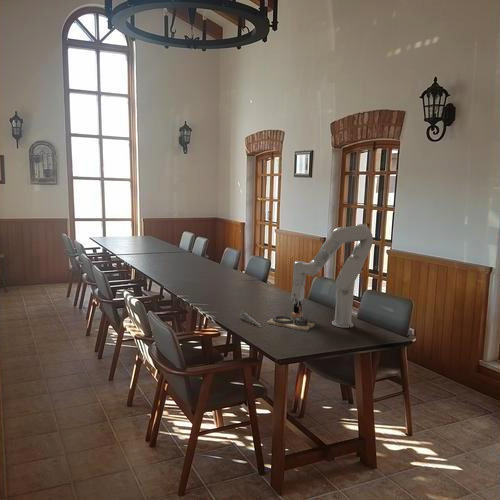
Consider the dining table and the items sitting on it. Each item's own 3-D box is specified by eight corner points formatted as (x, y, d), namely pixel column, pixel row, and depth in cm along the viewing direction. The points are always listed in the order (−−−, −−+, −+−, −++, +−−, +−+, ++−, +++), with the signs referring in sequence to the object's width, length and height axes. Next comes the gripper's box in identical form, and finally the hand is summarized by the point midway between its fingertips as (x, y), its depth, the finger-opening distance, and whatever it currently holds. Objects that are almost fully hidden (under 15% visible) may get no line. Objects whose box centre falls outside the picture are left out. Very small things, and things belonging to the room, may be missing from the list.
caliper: (239, 319, 289) (240, 308, 288) (241, 318, 290) (241, 308, 289) (260, 328, 273) (261, 317, 272) (262, 328, 274) (263, 317, 273)
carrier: (277, 318, 294) (277, 307, 294) (314, 325, 283) (315, 314, 283) (266, 323, 282) (267, 312, 281) (305, 331, 271) (306, 320, 270)
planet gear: (294, 315, 300) (294, 303, 299) (304, 317, 296) (305, 305, 295) (289, 318, 294) (290, 305, 292) (300, 320, 290) (300, 307, 289)
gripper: (298, 279, 301) (296, 308, 303) (287, 283, 286) (286, 314, 289) (310, 280, 298) (308, 310, 300) (299, 285, 283) (297, 316, 285)
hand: (297, 311), depth 294 cm, fingers closed on planet gear, 3 cm apart
